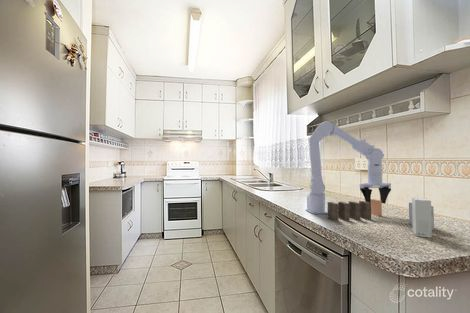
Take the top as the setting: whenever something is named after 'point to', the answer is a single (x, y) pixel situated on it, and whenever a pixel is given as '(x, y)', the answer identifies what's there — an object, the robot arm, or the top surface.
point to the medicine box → (412, 219)
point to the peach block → (376, 207)
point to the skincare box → (421, 217)
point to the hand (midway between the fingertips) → (375, 203)
